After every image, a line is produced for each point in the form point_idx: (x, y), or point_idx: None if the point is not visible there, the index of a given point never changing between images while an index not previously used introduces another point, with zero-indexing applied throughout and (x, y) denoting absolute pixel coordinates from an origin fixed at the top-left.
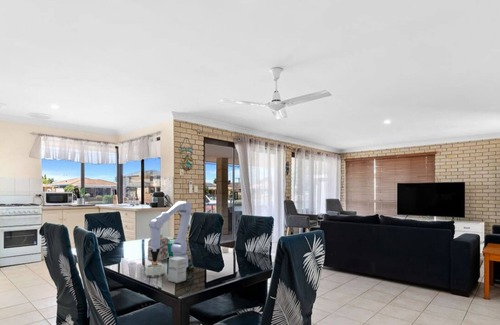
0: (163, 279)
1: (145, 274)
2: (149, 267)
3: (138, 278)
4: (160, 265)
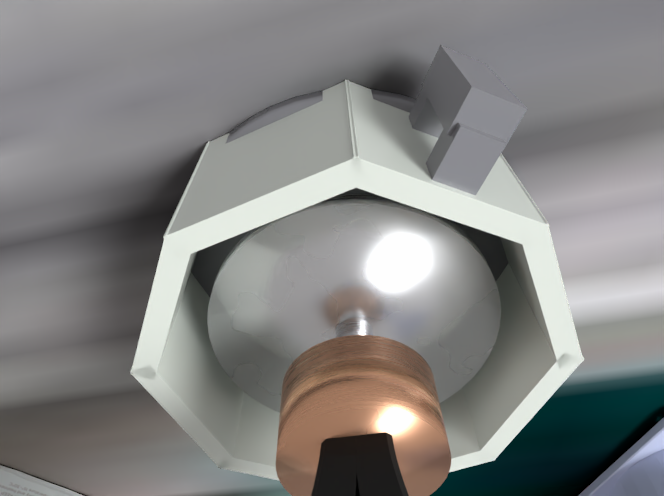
0: (53, 411)
1: (259, 118)
2: (419, 222)
3: (7, 14)
4: (487, 415)
